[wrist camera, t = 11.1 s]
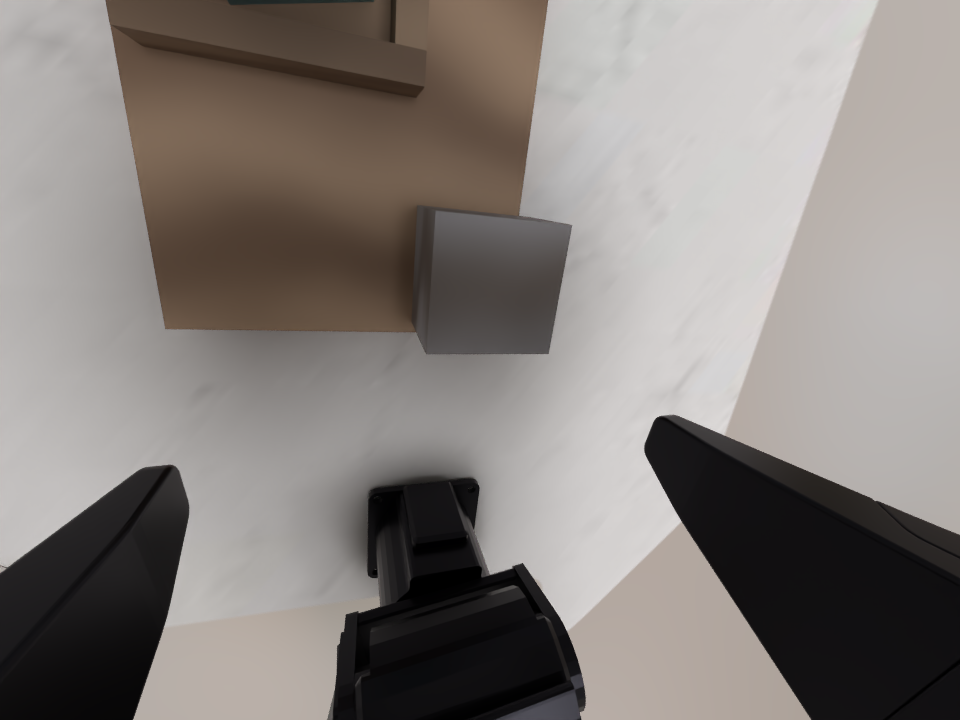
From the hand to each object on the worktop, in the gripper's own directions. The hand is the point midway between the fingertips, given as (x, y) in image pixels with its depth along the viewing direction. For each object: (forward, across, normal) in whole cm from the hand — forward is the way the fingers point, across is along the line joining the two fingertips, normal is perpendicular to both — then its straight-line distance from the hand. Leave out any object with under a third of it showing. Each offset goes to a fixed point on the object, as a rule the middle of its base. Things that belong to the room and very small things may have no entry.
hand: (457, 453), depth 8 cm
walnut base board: (+14, +1, -6) cm, 15 cm away
